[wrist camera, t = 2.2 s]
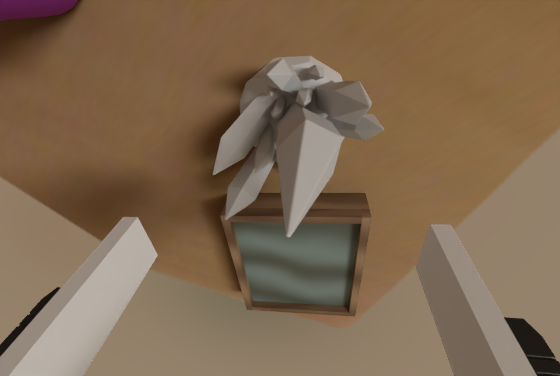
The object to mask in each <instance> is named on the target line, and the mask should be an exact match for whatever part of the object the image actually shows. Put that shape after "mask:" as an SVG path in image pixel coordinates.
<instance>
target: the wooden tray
mask: <svg viewBox="0 0 560 376" xmlns="http://www.w3.org/2000/svg"><path fill="white" fill-rule="evenodd" d="M226 201H227V200H226ZM225 211H226V203H225V205H224V208H223V210H222V212H221V215H220V217H221V221H222V224H223V228H224V231H225V235H226V238H227V242H228V245H229V249H230V252H231V256H232V259H233V263H234V266H235V270H236V273H237V277H238V280H239V284H240V287H241V291H242V294H243V297H244V301H245V304H246V308H247V310H260V311H276V312H292V313H309V314H325V315H341V316H355V313H356V307H357V301H358V295H359V289H360V283H361V277H362V271H363V265H364V259H365V253H366V247H367V241H368V235H369V229H370V223H371V214H370V210H369V206H368V202H367V198H366V194H365V193H320V194H319V195H318V197H317V198H316V200H315V201H314V203H313V204H312V206H311V207H310V209H309V210H308V212H307V213H306V215H305V216H304V218H303V219H302V221H301V222H300V224H299V225H298V227H297V228H296V229H295V231H294V232H293V234H292V235H291V237H287V236H286V232H285V224H284V215H283V206H282V197H281V193H259V194H258V196H257V198H256V200H255V201H254V202H252V203H251V204H250V205H249V206H247V207H246V208H244V209H243V210H241V211H239V212H238V213H236V214H235V215H233V216H232V217H230V218H229V219H227V220H225Z"/></svg>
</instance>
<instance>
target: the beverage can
mask: <svg viewBox="0 0 560 376" xmlns="http://www.w3.org/2000/svg"><path fill="white" fill-rule="evenodd" d="M77 1H78V0H0V21H2V20H13V19H24V18H35V17H46V16H56V15H60V14H63V13H65V12H66V11H68V10H70V9H71V8H73V7H74V6H75V4H76V2H77Z"/></svg>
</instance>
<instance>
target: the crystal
mask: <svg viewBox="0 0 560 376" xmlns="http://www.w3.org/2000/svg"><path fill="white" fill-rule="evenodd" d="M371 104H372V101H371V100H370V98H369V96H368V95H367V93H366V91H365V89H364V88H363V86H362V84H361V82H360V81H343V80H342V77H341V75H340V74H339V73H337V72H336V71H334V70H332V69H331V68H329V67H328V66H326V65H324V64H323V63H321V62H319V61H318V60H316V59H315V58H313V57H311V56H298V57H280V58H274V59H272V60H271V61H270V62H269V63H268V64H267V65H266V66H265V67H263V68H262V69H261V70H260V71H259V72H258V73H257V74H256V75H254V76H253V77H252V78H251V79H250V80H248V81H247V82H246V84H245V87H244V90H243V93H242V97H241V100H240V116H239V117H238V118H237V120H236V121H235V122H234V123H233V124H232V125H231V126H230V128H229V129H228V130H227V131H226V132H225V133H224V135H223V136H222V137H221V140H220V144H219V148H218V152H217V157H216V161H215V165H214V170H213V175H215V174H217V173H219V172H220V171H222V170H224V169H226V168H228V167H229V166H231V165H233V164H235V163H236V162H238V161H240V160H242V159H244V158H245V157H246V155H247V154H248V152H249V151H250V150H251V148H252V147H253V146H254V147H255V149H254V151H253V152H252V153H251V155H250V156H249V158H248V159H247V160H246V162H245V163H244V165H243V166H242V168H241V169H240V170H239V172H238V173H237V175H236V176H235V178H234V179H233V180H232V182H231V183H230V185H229V186H228V191H227V201H226V211H225V220H227V219H229V218H230V217H232V216H233V215H235V214H236V213H238V212H239V211H241V210H243V209H244V208H246V207H247V206H249V205H250V204H251V203H252V202H254V201H255V200H256V198H257V196H258V194H259V192H260V190H261V188H262V186H263V184H264V182H265V180H266V178H267V176H268V174H269V172H270V170H271V168H272V166H273V164H274V163H275V162H277V163H278V171H279V180H280V189H281V197H282V206H283V215H284V224H285V232H286V236H287V237H291V235H292V234H293V232H294V231H295V229H296V228H297V227H298V225H299V224H300V222H301V221H302V219H303V218H304V216H305V215H306V213H307V212H308V210H309V209H310V207H311V206H312V204H313V203H314V201H315V200H316V198H317V197H318V195H319V194H320V193H321V191H322V190H323V188H324V187H325V185H326V184H327V182H328V181H329V179H330V178H331V176H332V175H333V172H334V169H335V165H336V161H337V157H338V154H339V150H340V146H341V142H342V141H343V139H344V137H349V138H354V139H359V140H366V139H368V138H370V137H372V136H374V135H376V134H378V133H380V132H382V131H384V128H383V127H382V125H381V124H380V123H379V121H378V120H377V118H376V117H375V116H374V114H365V113H366V112H367V111H368V110H369V108H370V107H371Z"/></svg>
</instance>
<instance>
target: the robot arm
mask: <svg viewBox="0 0 560 376" xmlns="http://www.w3.org/2000/svg"><path fill="white" fill-rule="evenodd" d="M157 256H158V255H157V253H156V251H155V249H154V247H153V245H152V243H151V242H150V240H149V238H148V236H147V234H146V232H145V230H144V228H143V226H142V224H141V223H140V221H139V219H138V217H123V218H122V219H121V220H120V221H119V222H118V224H117V225H116V226H115V227H114V228H113V229H112V230H111V231H110V233H109V234H108V235H107V236H106V237H105V238H104V239H103V241H102V242H101V243H100V244H99V245H98V246H97V248H96V249H95V250H94V251H93V252H92V253H91V254H90V255H89V257H88V258H87V259H86V260H85V261H84V262H83V263H82V264H81V266H80V267H79V268H78V269H77V270H76V271H75V272H74V274H73V275H72V276H71V277H70V278H69V279H68V280H67V281H66V283H65V284H64V285H63V286H62V287H61V288H59V287H57V288H56V289H55V290H53V291H52V292H51V293H49V294H48V295H47V296H45V297H44V298H43V299H42V300H41V301H40V302H39V303H38V304H37V305H36V306H35V307H34V308H33V309H32V311H31V312H30V314H29V315H27V316H26V317H25V318H24V319H23V320H22V322H21V323H20V325H19V326H18V327H16V328H15V329H14V330H13V331H12V333H11V334H10V335H9V336H8V337H7V338H6V339H5V340H4V341H3V342H2V344H1V345H0V376H83V375H84V374H85V372H86V370H87V369H88V367H89V366H90V364H91V362H92V360H93V359H94V357H95V356H96V354H97V353H98V351H99V349H100V348H101V346H102V345H103V343H104V341H105V340H106V338H107V336H108V335H109V333H110V332H111V330H112V328H113V327H114V325H115V324H116V322H117V320H118V319H119V317H120V315H121V314H122V312H123V311H124V309H125V307H126V306H127V304H128V303H129V301H130V299H131V298H132V296H133V294H134V293H135V291H136V290H137V288H138V286H139V285H140V283H141V282H142V280H143V278H144V277H145V275H146V273H147V272H148V270H149V269H150V267H151V265H152V264H153V262H154V261H155V259H156V257H157ZM416 269H417V272H418V275H419V278H420V280H421V283H422V286H423V289H424V292H425V295H426V297H427V300H428V303H429V306H430V309H431V312H432V314H433V317H434V320H435V323H436V326H437V329H438V331H439V334H440V337H441V340H442V343H443V345H444V348H445V351H446V354H447V357H448V360H449V362H450V365H451V368H452V371H453V373H454V376H560V363H559V362H558V361H556V359H555V356H554V354H553V353H552V351H551V349H550V348H549V346H548V345H547V343H546V342H545V340H544V339H543V338H542V336H541V335H540V334H539V333H538V332H537V331H536V330H535V329H533V327H531V326H530V325H529V324H528V323H527V322H526V321H525V320H524V319H518V318H505V317H503V315H502V313H501V312H500V310H499V308H498V306H497V305H496V303H495V301H494V299H493V298H492V296H491V294H490V293H489V291H488V289H487V287H486V286H485V284H484V282H483V280H482V279H481V277H480V275H479V273H478V271H477V270H476V268H475V266H474V264H473V263H472V261H471V259H470V258H469V256H468V254H467V252H466V250H465V249H464V247H463V245H462V243H461V242H460V240H459V238H458V236H457V235H456V233H455V231H454V229H453V228H452V226H451V225H437V224H431V225H430V228H429V231H428V233H427V236H426V239H425V242H424V245H423V248H422V251H421V254H420V256H419V259H418V262H417V265H416Z"/></svg>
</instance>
